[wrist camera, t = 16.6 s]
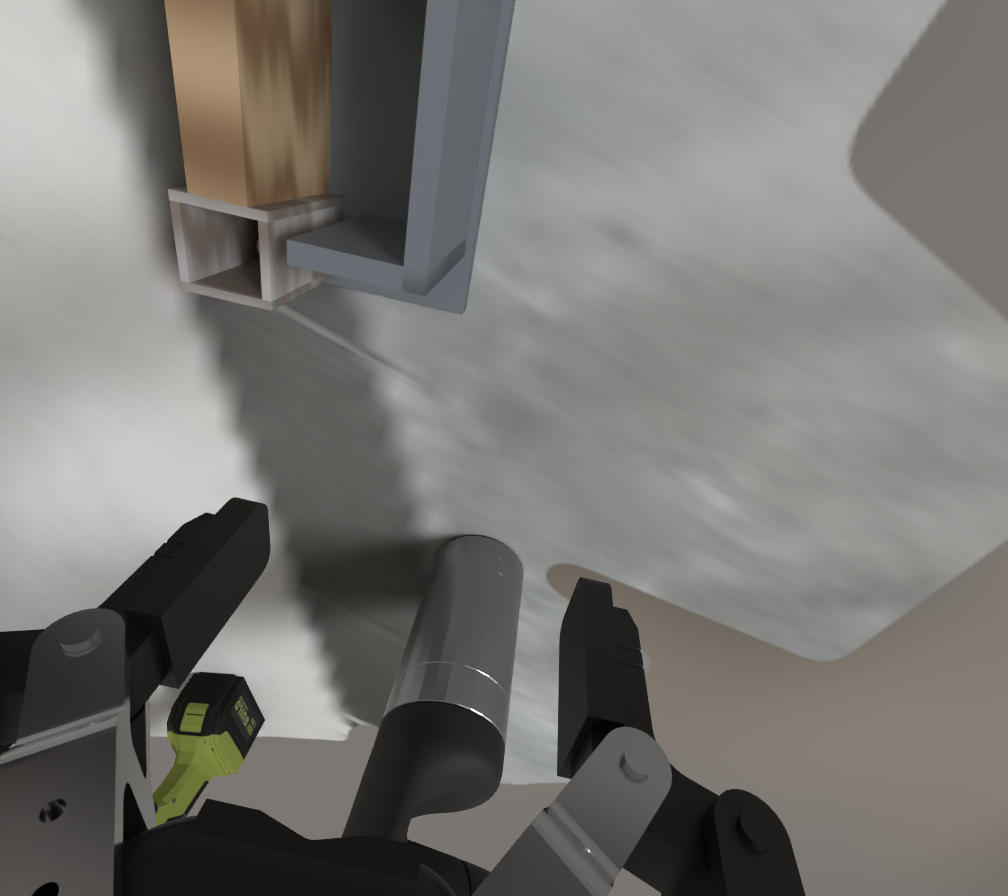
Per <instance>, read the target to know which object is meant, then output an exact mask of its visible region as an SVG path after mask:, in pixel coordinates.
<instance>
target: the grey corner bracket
mask: <svg viewBox="0 0 1008 896" xmlns="http://www.w3.org/2000/svg"><path fill="white" fill-rule="evenodd" d="M514 5H515V0H332V71H331V143H330V193H334V194H338V195H343V196H345V198H344V221H342V222H339V223H336V224H333V225H330V226H327V227H324V228H321V229H317V230H314V231H311V232H308V233H305V234H302V235H299V236H295V237H292V238H289V239H287V265H291V266H295V267H299V268H304V269H308V270H312V271H317V272H321V273H325V274H330V275H334V276H335V277H333V278H331V279H329V280H327V281H326V282H324V283H328V284H332V285H337V286H341V287H345V288H350V289H354V290H358V291H363V292H367V293H371V294H376V295H380V296H384V297H388V298H393V299H397V300H401V301H406V302H410V303H414V304H419V305H423V306H427V307H432V308H436V309H440V310H445V311H449V312H453V313H457V314H463V313H464V311H465V310H466V305H467V299H468V292H469V286H470V280H471V274H472V267H473V261H474V255H475V249H476V242H477V236H478V230H479V224H480V217H481V211H482V205H483V199H484V192H485V186H486V180H487V174H488V167H489V161H490V155H491V149H492V142H493V136H494V130H495V123H496V117H497V111H498V105H499V98H500V92H501V86H502V80H503V73H504V67H505V61H506V55H507V48H508V42H509V36H510V30H511V23H512V17H513V11H514ZM257 250H258V252H259V254H260V250H259V240H258V242H257Z"/></svg>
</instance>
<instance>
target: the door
mask: <svg viewBox="0 0 1008 896" xmlns="http://www.w3.org/2000/svg"><path fill="white" fill-rule="evenodd" d="M164 2H165V10H166V18H167V26H168V35H169V43H170V51H171V60H172V68H173V76H174V85H175V93H176V101H177V109H178V118H179V126H180V134H181V143H182V151H183V159H184V168H185V176H186V184H187V187H181V188H171V189H168V195H169V202H170V209H171V216H172V223H173V231H174V238H175V245H176V252H177V259H178V267H179V274H180V281H181V288H182V290H184V291H188V292H193V293H197V294H201V295H206V296H210V297H214V298H219V299H223V300H227V301H232V302H236V303H240V304H244V305H249V306H253V307H257V308H262V309H266V310H270V311H272V310H274V309H276V308H278V307H280V306H282V305H283V304H285V303H287V302H289V301H291V300H293V299H294V298H296V297H298V296H300V295H302V294H304V293H305V292H307V291H309V290H311V289H313V288H315V287H316V286H318V285H320V284H322V283H324V282H326V281H327V280H329V279H331V278H333V277H335V276H334V275H330V274H325V273H321V272H317V271H312V270H308V269H304V268H299V267H295V266H291V265H287V239H289V238H292V237H295V236H299V235H302V234H305V233H308V232H311V231H314V230H317V229H321V228H324V227H327V226H330V225H333V224H336V223H339V222H342V221H344V198H345V196H343V195H338V194H334V193H330V143H331V71H332V0H164ZM258 240H259V250H260V254H259V252H258V250H257V242H258Z"/></svg>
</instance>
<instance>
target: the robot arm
mask: <svg viewBox="0 0 1008 896" xmlns="http://www.w3.org/2000/svg"><path fill="white" fill-rule="evenodd" d="M269 555H270V534H269V518H268V508H267V506H266V505H265V504H262V503H258V502H254V501H249V500H245V499H240V498H236V497H235V498H232V499H230V500H229V501H228V502H227V503H226V504H225V505H224V506H223V507H222V508H221V509H220V510H219V511H218V512H217V513H216V514H215V515H214V514H210V513H204V514H202V515H200V516H199V517H197V518H195V519H193V520H191V521H189V522H187V523H185V524H183V525H182V526H181V527H180V528H179V529H178V530H177V531H176V532H175V533H174V534H173V535H172V536H171V537H170V538H169V539H168V541H167V543H164V544H163V545H162V546H161V547H160V548H159V549H158V550H157V551H156V552H155V554H154V556H151V557H150V558H149V559H148V560H146V561H145V562H144V563H143V564H142V565H141V566H140V567H139V568H138V569H137V570H136V571H135V572H134V573H133V574H132V575H131V576H130V577H129V578H128V579H127V580H126V581H125V582H124V583H123V584H122V585H121V586H120V587H119V588H118V589H117V590H116V591H115V592H114V593H113V594H112V595H111V596H110V597H109V598H107V599H106V600H105V601H104V602H103V603H102V604H101V605H100V606H99V607H98V608H95V609H87V610H81V611H78V612H74V613H72V614H69V615H67V616H65V617H63V618H61V619H59V620H57V621H56V622H54V623H52V624H51V625H50V626H48V627H47V628H46V629H41V630H26V631H9V632H0V896H608V895H609V893H610V891H611V889H612V887H613V883H614V881H615V879H616V877H617V875H618V874H619V872H620V871H621V869H622V867H623V868H624V869H626V870H627V871H629V872H630V873H632V874H633V875H635V876H637V877H638V878H640V879H641V880H642V881H644V882H646V883H647V884H649V885H650V886H652V887H653V888H655V889H656V890H658V891H659V892H661V896H805V892H804V889H803V885H802V882H801V878H800V874H799V871H798V867H797V863H796V860H795V856H794V852H793V849H792V845H791V842H790V839H789V836H788V833H787V831H786V829H785V827H784V826H783V824H782V822H781V820H780V819H779V818H778V816H777V815H776V814H775V813H774V811H773V810H772V809H771V808H770V807H769V806H768V805H767V804H766V803H765V802H764V801H762V800H761V799H760V798H758V797H757V796H755V795H753V794H751V793H749V792H747V791H744V790H739V789H731V790H727V791H725V792H723V793H722V794H721V795H720V796H718V795H716V794H715V793H713V792H711V791H710V790H708V789H706V788H704V787H703V786H701V785H699V784H697V783H696V782H694V781H692V780H690V779H689V778H687V777H686V776H684V775H682V774H681V773H680V772H679V771H677V770H676V769H675V768H674V767H673V766H672V765H671V764H670V763H669V761H668V759H667V756H666V755H665V753H664V751H663V750H662V748H661V747H660V746H659V744H658V743H657V742H656V740H655V737H654V734H653V729H652V722H651V716H650V709H649V702H648V695H647V688H646V681H645V674H644V669H643V660H642V653H641V652H640V649H641V647H640V641H639V633H638V628H637V626H636V625H635V623H634V621H633V619H632V617H631V616H630V614H629V612H628V610H626V609H622V608H617V607H613V601H612V590H611V586H610V584H608V583H604V582H600V581H595V580H591V579H586V578H582V577H580V579H579V580H578V582H577V585H576V587H575V590H574V592H573V595H572V597H571V600H570V602H569V605H568V608H567V610H566V613H565V615H564V618H563V622H562V626H561V632H560V644H559V700H558V756H557V776H560V777H565V778H569V779H571V780H570V781H569V783H568V784H567V785H566V786H565V788H564V789H563V790H562V791H561V792H560V794H559V795H558V796H557V797H556V799H555V800H554V801H553V802H552V803H551V805H550V806H549V807H547V808H544V809H543V810H542V811H541V812H540V813H539V814H538V815H537V816H536V818H535V819H534V820H533V821H532V822H531V824H530V825H529V826H528V827H527V828H526V830H525V831H524V832H523V833H522V835H521V836H520V837H519V838H518V839H517V841H516V842H515V843H514V844H513V846H512V847H511V848H510V849H509V850H508V852H507V853H506V854H505V855H504V857H503V858H502V859H501V860H500V862H499V863H498V864H497V865H496V866H495V867H494V869H493V870H492V871H491V872H489V871H487V870H485V869H483V868H481V867H478V866H476V865H474V864H471V863H468V862H466V861H463V860H460V859H458V858H456V857H453V856H451V855H448V854H445V853H443V852H440V851H437V850H435V849H432V848H429V847H427V846H424V845H421V844H419V843H416V842H412V841H410V840H408V839H407V831H408V826H409V823H410V820H411V819H412V818H414V817H417V816H421V815H426V814H434V813H449V812H457V811H463V810H467V809H471V808H474V807H476V806H478V805H481V804H483V803H484V802H486V801H487V800H489V799H490V798H491V797H492V796H493V795H494V793H495V792H496V791H497V789H498V787H499V784H500V781H501V777H502V771H503V763H504V753H505V743H506V733H507V724H508V714H509V703H510V694H511V684H512V675H513V666H514V656H515V647H516V638H517V628H518V619H519V610H520V602H521V592H522V583H523V568H522V564H521V562H520V560H519V558H518V557H517V555H516V554H515V553H514V552H513V551H512V550H511V549H510V548H508V547H507V546H506V545H504V544H502V543H500V542H498V541H496V540H493V539H490V538H487V537H481V536H464V537H459V538H456V539H453V540H451V541H449V542H448V543H446V544H445V545H443V546H442V547H441V548H440V550H439V551H438V552H437V555H436V557H435V559H434V562H433V565H432V568H431V571H430V575H429V578H428V581H427V584H426V586H425V589H424V592H423V595H422V599H421V602H420V605H419V608H418V611H417V614H416V617H415V620H414V623H413V626H412V629H411V633H410V636H409V639H408V642H407V645H406V648H405V651H404V654H403V657H402V660H401V663H400V667H399V670H398V673H397V676H396V679H395V682H394V685H393V689H392V692H391V695H390V698H389V701H388V704H387V707H386V710H385V713H384V716H383V719H382V722H381V725H380V728H379V731H378V734H377V737H376V740H375V743H374V747H373V749H372V752H371V755H370V757H369V760H368V763H367V766H366V768H365V771H364V774H363V777H362V780H361V783H360V786H359V789H358V792H357V795H356V798H355V801H354V804H353V807H352V810H351V813H350V815H349V818H348V821H347V824H346V827H345V829H344V832H343V835H342V837H341V838H333V839H322V840H309V839H306V838H304V837H302V836H301V835H299V834H297V833H296V832H294V831H292V830H291V829H289V828H288V827H286V826H285V825H283V824H281V823H280V822H278V821H276V820H275V819H273V818H272V817H270V816H268V815H267V814H265V813H264V812H262V811H260V810H256V809H251V808H247V807H242V806H238V805H234V804H229V803H224V802H220V801H215V800H211V799H206V801H205V803H204V804H203V806H202V808H201V810H200V811H199V813H198V815H197V816H190V817H185V818H180V819H176V820H172V821H169V822H166V823H163V824H160V825H158V826H157V824H156V814H155V807H154V802H153V796H152V786H151V756H150V721H149V702H148V699H149V698H150V696H151V695H152V694H153V692H154V691H155V690H156V688H157V687H158V686H159V685H163V686H168V687H172V688H177V689H179V687H180V686H181V685H182V683H183V682H184V680H185V679H186V678H187V676H188V675H189V674H190V672H191V671H192V669H193V668H194V667H195V665H196V664H197V662H198V661H199V660H200V658H201V657H202V656H203V654H204V653H205V651H206V650H207V649H208V647H209V646H210V645H211V643H212V642H213V640H214V639H215V638H216V636H217V635H218V633H219V632H220V631H221V629H222V628H223V627H224V625H225V624H226V622H227V621H228V620H229V618H230V617H231V615H232V614H233V613H234V611H235V610H236V609H237V607H238V606H239V604H240V603H241V602H242V600H243V599H244V597H245V596H246V595H247V593H248V592H249V591H250V589H251V588H252V586H253V585H254V584H255V582H256V581H257V579H258V578H259V577H260V575H261V574H262V572H263V571H264V569H265V567H266V565H267V562H268V559H269ZM15 743H16V744H15ZM12 744H15V746H14V747H13V748H9V747H10V746H11V745H12Z"/></svg>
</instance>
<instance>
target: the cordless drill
mask: <svg viewBox="0 0 1008 896" xmlns="http://www.w3.org/2000/svg"><path fill="white" fill-rule="evenodd" d="M264 721H265V719H264V717H263V715H262V713H261V711H260V709H259V707H258V705H257V703H256V701H255V699H254V697H253V695H252V693H251V691H250V689H249V687H248V685H247V683H246V681H245V679H244V677H238V676H235V675H233V674H219V673H205V672H200V674H194V675H193V676H192V677H191V679H190V680H189V682H188V683H187V684H186V686H185V687H184V689H183V690H182V692H181V693H180V695H179V697H178V698H177V700H176V702H175V703H174V705H173V707H172V709H171V712H170V715H169V718H168V721H167V734H168V739H169V741H170V744H171V746H172V748H173V750H174V752H175V754H176V759H175V763H174V766H173V768H172V769H171V770H170V772H169V774H168V775H167V777H166V778H165V779H164V781H163V782H162V784H161V785H160V786H159V787H158V789H157V790H156V791H155V792H154V793H153V794H152V796H153V802H154V807H155V814H156V824H157V826H158V825H160V824H163V823H166V822H169V821H172V820H176V819H180V818H185V817H186V816H187V814H188V813H189V811H190V810H191V808H192V807H193V805H194V803H195V802H196V800H197V799H198V797H199V796H200V794H201V793H202V791H203V790H204V788H205V787H206V785H207V784H208V782H209V781H210V780H211V779H212V778H213V777H214V776H215V775H216V776H226V777H227V775H228V774H237V772H238V770H239V768H240V766H241V764H242V762H243V760H244V758H245V757H246V755H247V753H248V751H249V749H250V747H251V745H252V743H253V742H254V740H255V738H256V736H257V734H258V732H259V730H260V728H261V727H262V725H263V723H264Z"/></svg>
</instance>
